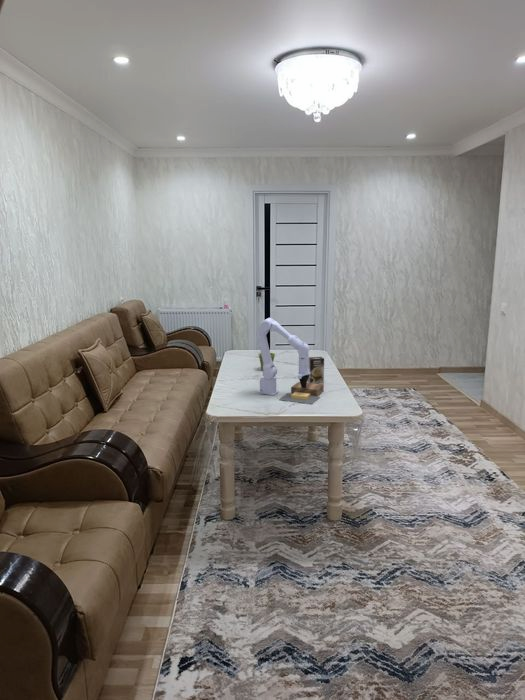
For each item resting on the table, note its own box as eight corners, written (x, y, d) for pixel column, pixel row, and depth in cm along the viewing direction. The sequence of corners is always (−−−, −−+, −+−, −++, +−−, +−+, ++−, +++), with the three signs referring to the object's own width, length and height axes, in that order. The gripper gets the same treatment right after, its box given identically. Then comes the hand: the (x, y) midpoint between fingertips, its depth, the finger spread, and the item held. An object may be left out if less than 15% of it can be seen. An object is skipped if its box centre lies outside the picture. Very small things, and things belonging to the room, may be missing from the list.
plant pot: (269, 373, 344) (269, 357, 342) (255, 371, 351) (254, 355, 349) (278, 369, 354) (278, 353, 352) (264, 367, 361) (264, 351, 358)
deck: (291, 393, 299) (291, 387, 298) (298, 388, 310) (298, 381, 309) (317, 396, 293) (317, 390, 292) (323, 390, 303) (323, 384, 303)
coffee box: (310, 384, 317) (310, 359, 313) (307, 381, 323) (307, 357, 319) (324, 383, 319) (324, 358, 315) (321, 380, 325) (321, 356, 321)
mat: (278, 400, 288) (278, 399, 288) (287, 393, 300) (287, 392, 300) (312, 404, 280) (312, 403, 279) (320, 397, 291) (320, 396, 291)
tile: (295, 391, 294) (295, 395, 295) (291, 394, 289) (291, 398, 289) (310, 393, 291) (310, 397, 291) (306, 396, 285) (306, 400, 286)
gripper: (306, 368, 283) (306, 391, 286) (314, 362, 296) (314, 385, 299) (294, 367, 286) (294, 390, 289) (302, 361, 299) (302, 383, 302)
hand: (303, 387), depth 294 cm, fingers closed
